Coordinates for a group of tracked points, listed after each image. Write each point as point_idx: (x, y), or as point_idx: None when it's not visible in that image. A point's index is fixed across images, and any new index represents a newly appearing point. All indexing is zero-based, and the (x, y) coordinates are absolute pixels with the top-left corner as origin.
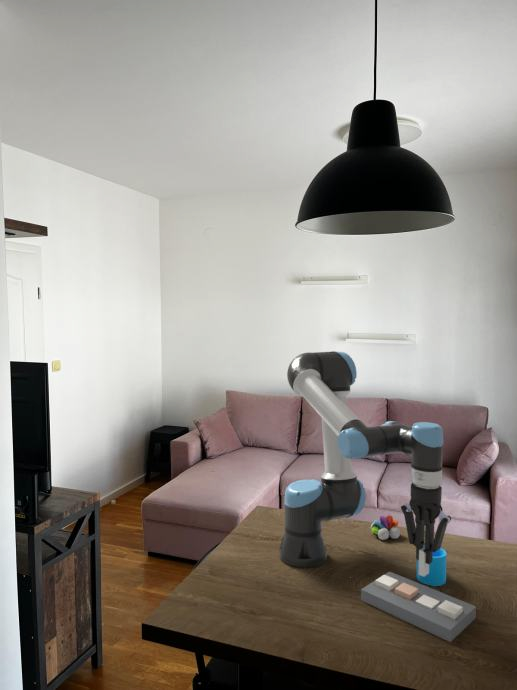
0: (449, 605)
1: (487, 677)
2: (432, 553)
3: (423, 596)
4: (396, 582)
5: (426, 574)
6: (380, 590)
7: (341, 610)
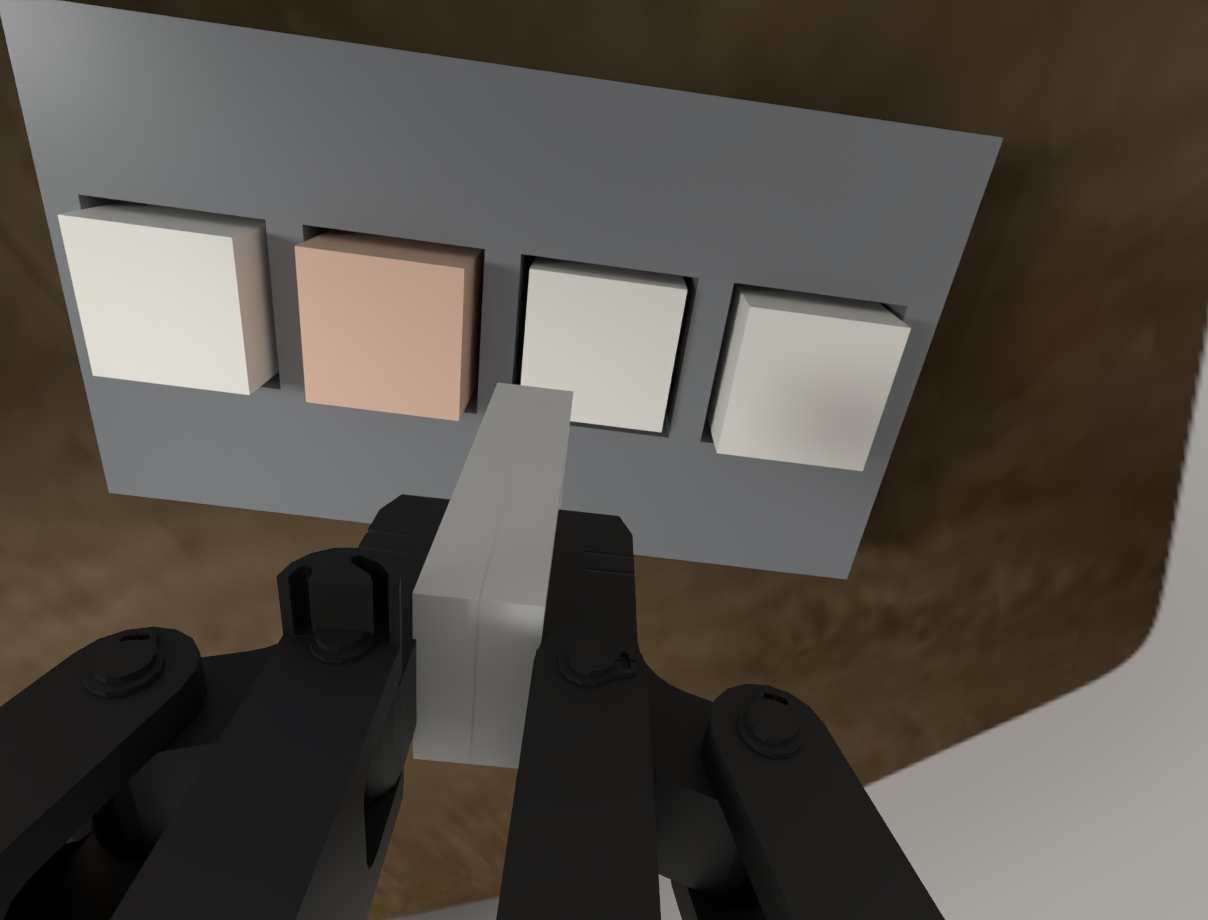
0: (800, 375)
1: (1038, 670)
2: (635, 626)
3: (540, 305)
4: (241, 271)
5: (566, 453)
6: (216, 416)
7: (172, 610)
